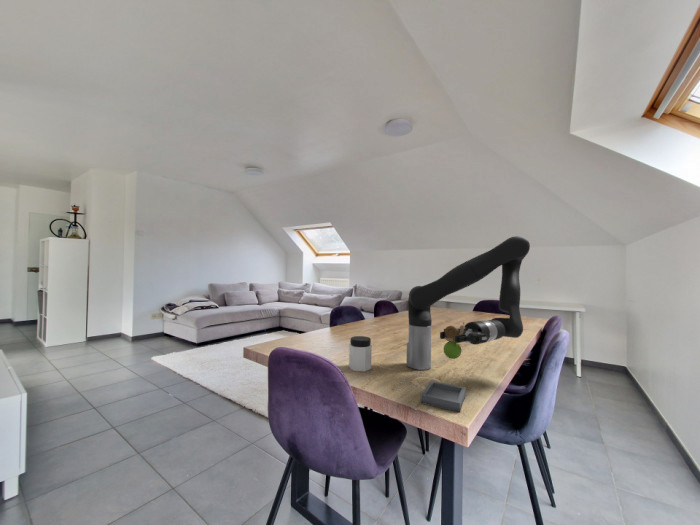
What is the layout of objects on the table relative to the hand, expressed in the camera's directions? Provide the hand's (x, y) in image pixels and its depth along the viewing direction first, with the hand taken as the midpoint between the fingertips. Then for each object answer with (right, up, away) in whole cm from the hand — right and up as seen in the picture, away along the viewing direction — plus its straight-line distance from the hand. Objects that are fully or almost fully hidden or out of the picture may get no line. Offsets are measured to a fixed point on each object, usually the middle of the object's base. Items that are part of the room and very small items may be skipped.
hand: (448, 337), depth 93 cm
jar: (-27, -19, +25) cm, 42 cm away
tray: (-2, -19, -2) cm, 19 cm away
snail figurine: (+2, -7, +1) cm, 8 cm away
